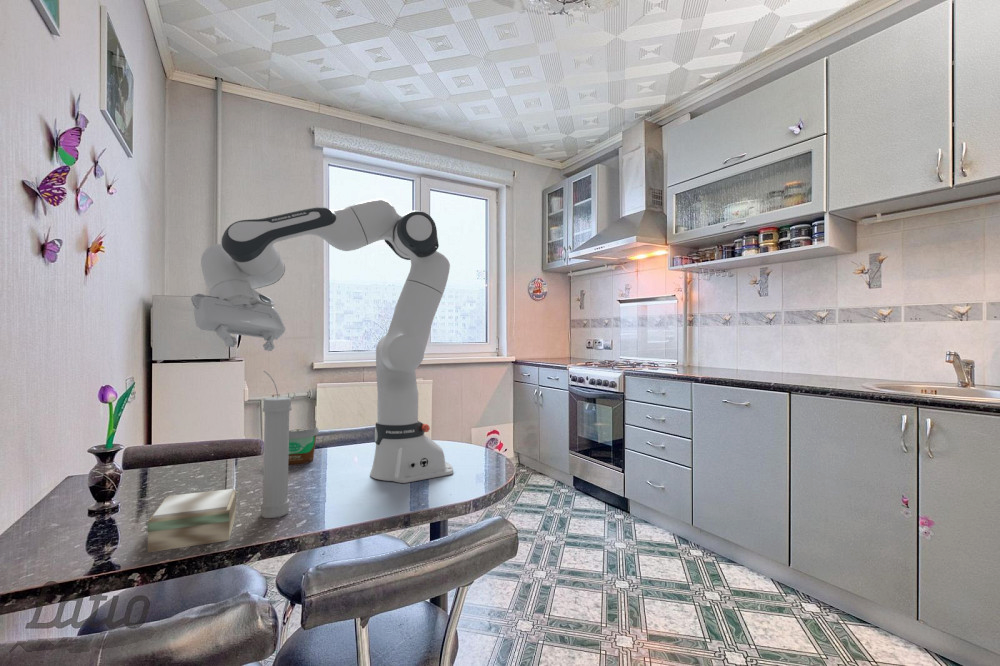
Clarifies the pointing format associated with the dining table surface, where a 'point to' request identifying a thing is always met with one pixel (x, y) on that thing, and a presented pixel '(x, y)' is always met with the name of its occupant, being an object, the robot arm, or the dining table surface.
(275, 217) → the robot arm
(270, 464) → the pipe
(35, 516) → the dining table surface
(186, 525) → the stand
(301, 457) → the food container
